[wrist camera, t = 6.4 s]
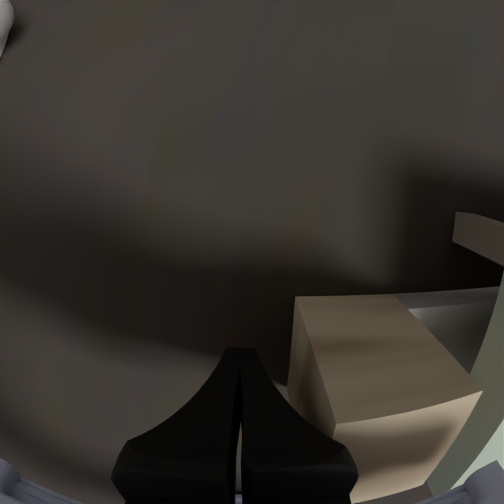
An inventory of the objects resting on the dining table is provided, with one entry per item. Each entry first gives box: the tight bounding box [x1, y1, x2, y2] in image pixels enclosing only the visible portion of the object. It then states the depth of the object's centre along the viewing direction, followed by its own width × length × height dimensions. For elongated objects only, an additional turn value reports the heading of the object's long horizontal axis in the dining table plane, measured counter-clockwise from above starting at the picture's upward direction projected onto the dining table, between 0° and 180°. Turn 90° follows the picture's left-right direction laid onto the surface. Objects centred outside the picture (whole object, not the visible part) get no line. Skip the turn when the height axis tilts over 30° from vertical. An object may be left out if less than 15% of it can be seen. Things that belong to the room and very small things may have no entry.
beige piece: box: [287, 286, 500, 504], centre depth 10 cm, size 5×20×7 cm, turn 89°
